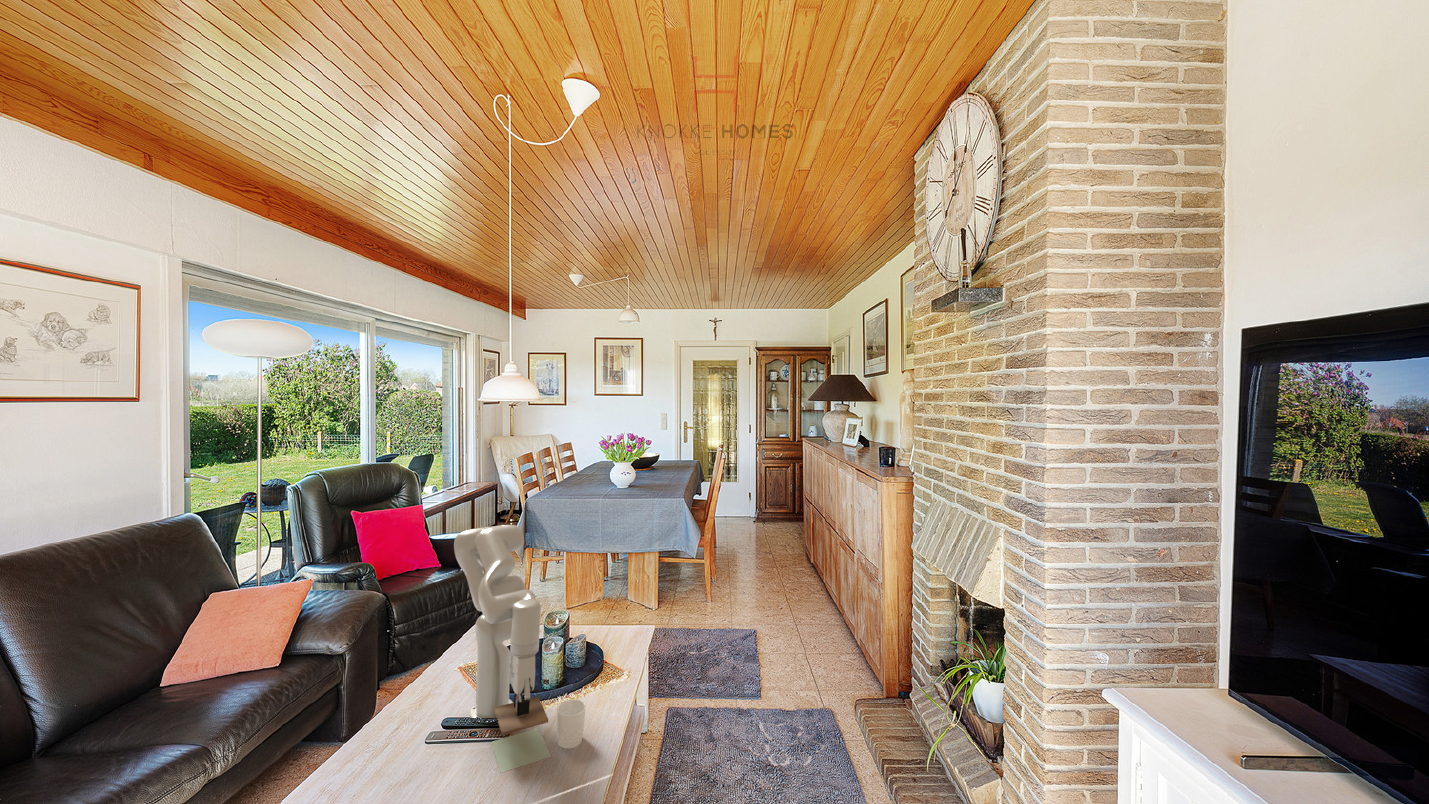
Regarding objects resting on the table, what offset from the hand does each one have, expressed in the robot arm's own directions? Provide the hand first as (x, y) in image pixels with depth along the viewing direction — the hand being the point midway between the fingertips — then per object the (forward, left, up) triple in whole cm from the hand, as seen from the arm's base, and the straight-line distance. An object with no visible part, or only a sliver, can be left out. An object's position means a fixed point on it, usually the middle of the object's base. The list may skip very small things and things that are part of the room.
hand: (521, 709), depth 145 cm
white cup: (+4, +13, -11) cm, 18 cm away
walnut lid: (0, 0, -2) cm, 2 cm away
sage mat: (+1, 0, -11) cm, 11 cm away
